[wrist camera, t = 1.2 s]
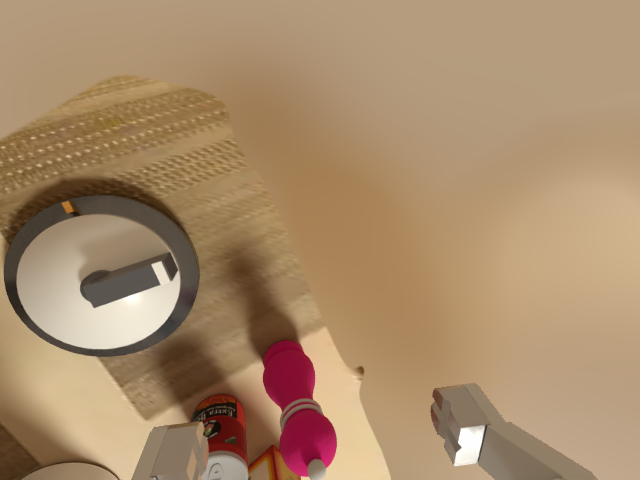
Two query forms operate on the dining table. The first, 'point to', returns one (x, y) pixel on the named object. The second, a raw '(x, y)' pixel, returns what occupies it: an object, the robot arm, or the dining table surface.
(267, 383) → the pepper mill
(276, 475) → the baking soda box
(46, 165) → the dining table surface
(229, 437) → the canned food
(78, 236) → the dial
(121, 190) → the dining table surface
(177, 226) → the dial housing
